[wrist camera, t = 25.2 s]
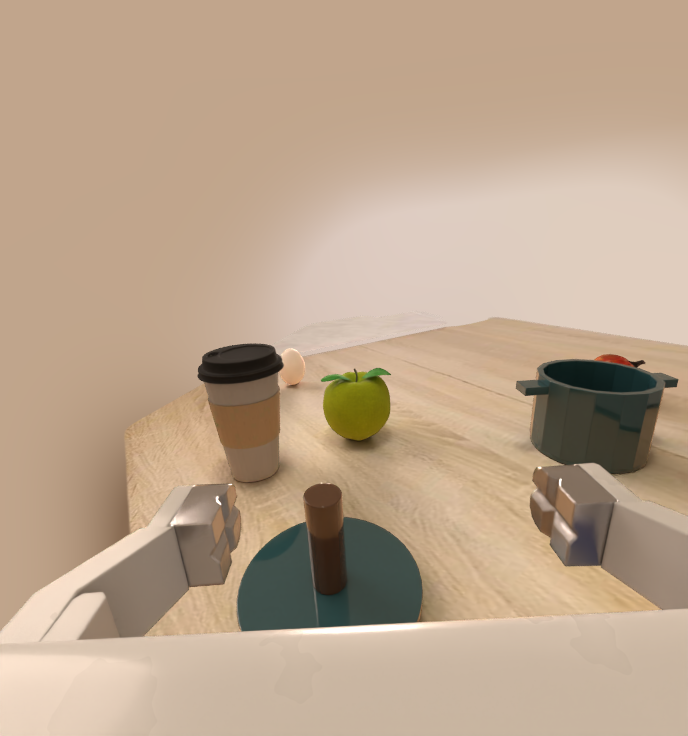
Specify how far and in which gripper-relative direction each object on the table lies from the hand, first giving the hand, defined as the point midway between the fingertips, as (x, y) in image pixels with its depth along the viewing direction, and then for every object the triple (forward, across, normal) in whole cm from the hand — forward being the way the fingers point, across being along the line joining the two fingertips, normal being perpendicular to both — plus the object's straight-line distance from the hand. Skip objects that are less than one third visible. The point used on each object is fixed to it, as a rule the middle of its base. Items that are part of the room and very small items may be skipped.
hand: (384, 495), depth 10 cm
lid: (+12, +3, +17) cm, 21 cm away
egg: (+60, +12, +19) cm, 65 cm away
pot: (+32, -29, +19) cm, 47 cm away
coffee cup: (+31, +13, +19) cm, 39 cm away
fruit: (+38, 0, +19) cm, 43 cm away
